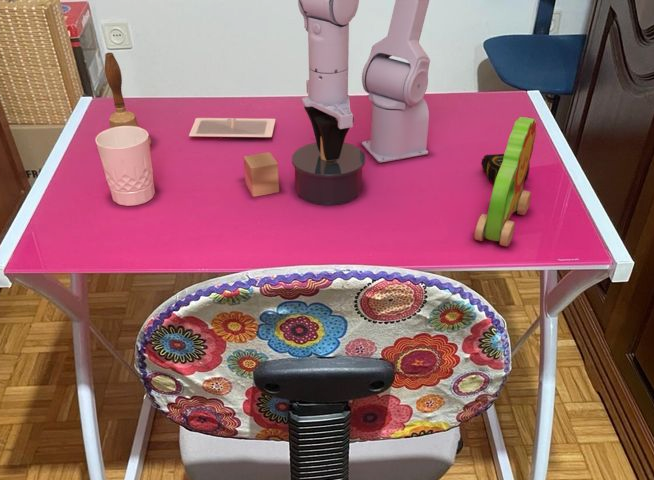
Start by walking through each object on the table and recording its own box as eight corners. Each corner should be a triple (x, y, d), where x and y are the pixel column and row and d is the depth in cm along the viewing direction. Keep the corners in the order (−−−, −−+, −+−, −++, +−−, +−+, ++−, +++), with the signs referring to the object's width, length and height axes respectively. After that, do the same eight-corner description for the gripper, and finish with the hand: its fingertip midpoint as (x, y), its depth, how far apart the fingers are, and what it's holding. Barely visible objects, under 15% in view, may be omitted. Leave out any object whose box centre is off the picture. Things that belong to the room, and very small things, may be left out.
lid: (349, 142, 120) (349, 116, 117) (377, 174, 111) (378, 146, 108) (282, 154, 117) (281, 127, 114) (306, 187, 108) (305, 159, 105)
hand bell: (97, 153, 127) (76, 61, 116) (114, 133, 133) (96, 44, 123) (142, 156, 126) (125, 64, 115) (157, 136, 132) (142, 46, 122)
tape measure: (519, 170, 121) (523, 149, 119) (531, 189, 116) (536, 168, 114) (479, 171, 121) (482, 151, 118) (490, 191, 116) (493, 170, 113)
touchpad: (272, 142, 130) (271, 131, 128) (189, 141, 130) (187, 130, 129) (276, 124, 136) (275, 113, 134) (196, 123, 136) (195, 112, 135)
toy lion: (507, 253, 102) (527, 153, 92) (470, 244, 104) (485, 145, 94) (533, 202, 113) (553, 107, 103) (499, 194, 115) (515, 101, 105)
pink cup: (167, 188, 117) (157, 129, 111) (143, 211, 112) (131, 151, 105) (125, 180, 119) (113, 122, 113) (99, 203, 114) (84, 144, 107)
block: (271, 180, 119) (269, 151, 116) (279, 192, 116) (278, 163, 113) (245, 184, 118) (243, 156, 115) (253, 197, 115) (250, 168, 112)
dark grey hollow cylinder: (347, 169, 122) (347, 141, 119) (371, 198, 114) (372, 169, 111) (287, 179, 119) (286, 151, 116) (308, 210, 112) (308, 181, 108)
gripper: (286, 53, 108) (289, 139, 117) (319, 88, 98) (320, 179, 107) (330, 47, 110) (330, 132, 119) (367, 81, 100) (364, 171, 109)
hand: (328, 154), depth 113 cm, fingers closed on lid, 2 cm apart
